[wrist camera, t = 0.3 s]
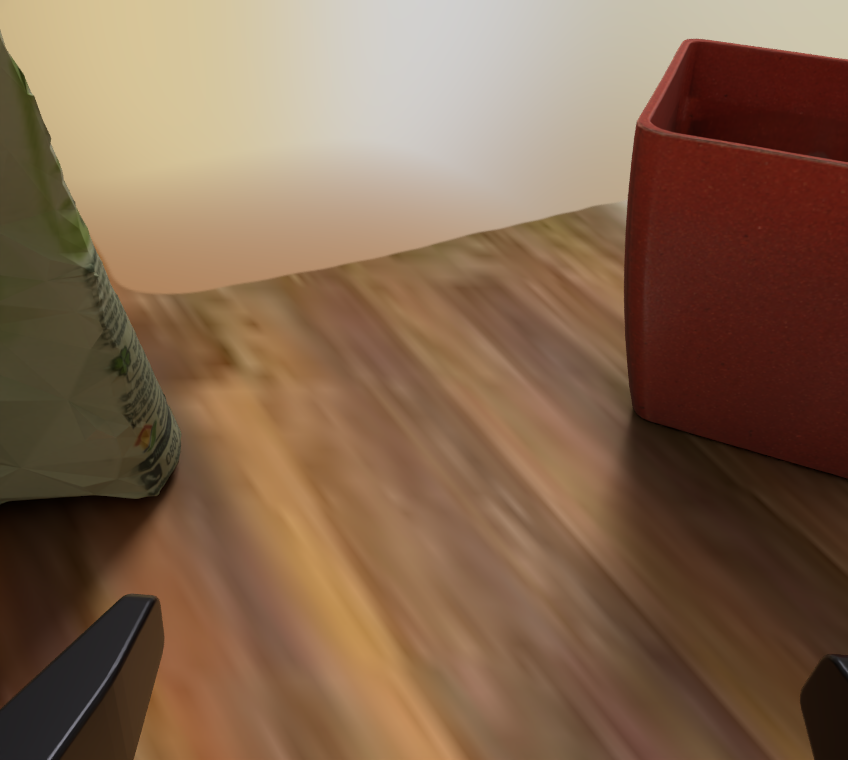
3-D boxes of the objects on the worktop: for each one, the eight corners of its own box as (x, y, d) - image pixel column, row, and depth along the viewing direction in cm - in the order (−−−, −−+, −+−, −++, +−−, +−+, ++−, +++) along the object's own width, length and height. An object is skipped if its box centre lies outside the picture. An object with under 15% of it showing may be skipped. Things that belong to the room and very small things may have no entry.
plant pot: (556, 435, 38) (633, 119, 28) (619, 280, 53) (686, 33, 42) (952, 559, 33) (1223, 229, 23) (903, 350, 47) (1057, 89, 37)
